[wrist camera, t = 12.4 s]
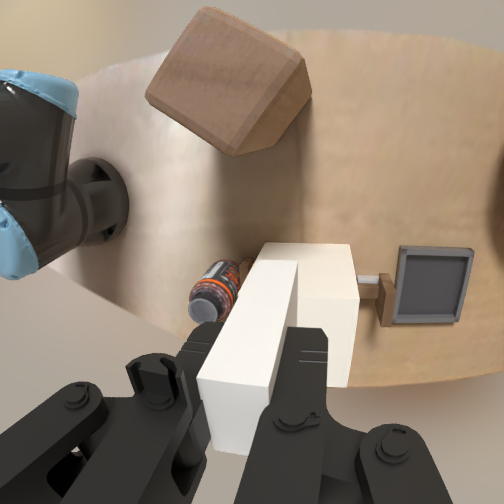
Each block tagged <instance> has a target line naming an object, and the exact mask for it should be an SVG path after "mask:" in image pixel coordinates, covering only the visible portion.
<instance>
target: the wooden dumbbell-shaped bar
mask: <svg viewBox="0 0 504 504" xmlns="http://www.w3.org/2000/svg"><path fill="white" fill-rule="evenodd" d="M251 268H252V259H250V258H244V259H243V261H242V262H241V264H240V266H239V272H240V287H242V285H243V283H244V281H245V279H246V277H247V276H248V274H249V272H250V270H251ZM357 286H358V292H359V298H361V299H376V304H375V305H376V309H377V313H378V317H379V322H380V326H381V327H391V324H392V318H393V313H394V307H395V301H396V295H397V293H396V290H395V288H394V285H393V283H392V280H391V278H390V275H389V274H388V273H379V281H378V284H373V283H357Z"/></svg>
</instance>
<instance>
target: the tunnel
mask: <svg viewBox="0 0 504 504" xmlns="http://www.w3.org/2000/svg"><path fill="white" fill-rule="evenodd" d="M258 260H286V261H298V305H297V327H307V328H322V330H323V331H324V333H325V334H326V336H327V337H328V368H327V387H347V382H348V377H349V371H350V365H351V359H352V353H353V346H354V340H355V333H356V325H357V318H358V310H359V301H360V298H359V292H358V286H357V283H373V284H378V281H379V276H365V275H357V281H356V276H355V271H354V265H353V260H352V256H351V251H350V246H349V244H314V243H277V242H265V244H264V246H263V248H262V250H261V251H260V253H259V255H258V257H257V259H256V261H255V263H254V264H253V266H252V268H251V270H250V272H249V274H248V276H247V277H246V279H245V281H244V283H243V285H242V287H241V289H240V290H239V292H238V297H239V296H240V294H241V292H242V290H243V288H244V286H245V284H246V282H247V280H248V278H249V276H250V275H251V273H252V271H253V269H254V267H255V265H256V263H257V261H258Z"/></svg>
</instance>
